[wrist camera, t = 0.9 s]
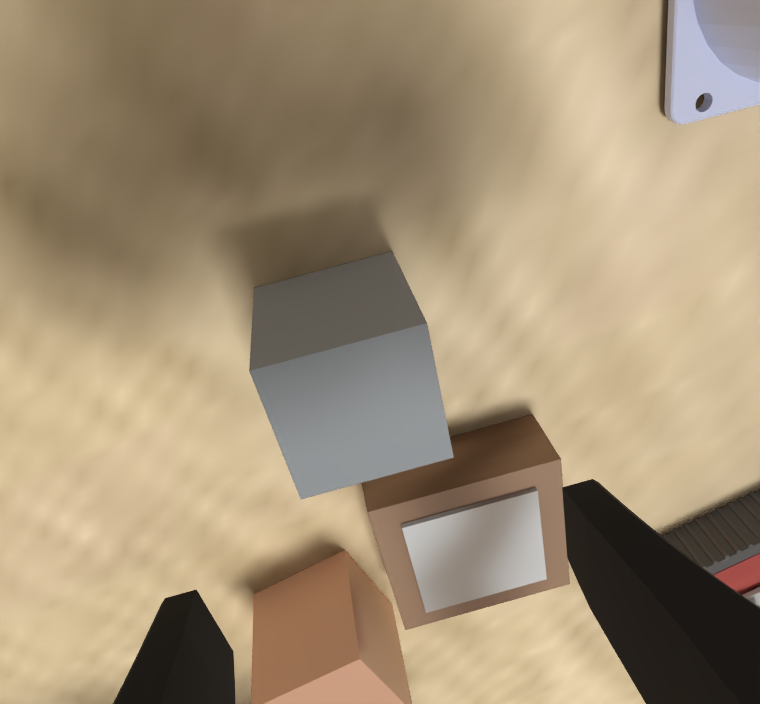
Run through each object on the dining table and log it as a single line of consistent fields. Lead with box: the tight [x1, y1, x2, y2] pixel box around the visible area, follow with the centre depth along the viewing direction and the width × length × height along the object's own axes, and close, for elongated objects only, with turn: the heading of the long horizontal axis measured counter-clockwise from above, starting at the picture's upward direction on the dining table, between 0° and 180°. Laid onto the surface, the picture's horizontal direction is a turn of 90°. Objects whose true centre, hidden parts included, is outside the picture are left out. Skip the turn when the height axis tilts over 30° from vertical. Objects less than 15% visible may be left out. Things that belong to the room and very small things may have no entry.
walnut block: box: [362, 414, 570, 630], centre depth 24 cm, size 7×7×3 cm
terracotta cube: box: [251, 550, 412, 704], centre depth 25 cm, size 4×4×5 cm
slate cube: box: [249, 251, 454, 499], centre depth 18 cm, size 4×4×5 cm
